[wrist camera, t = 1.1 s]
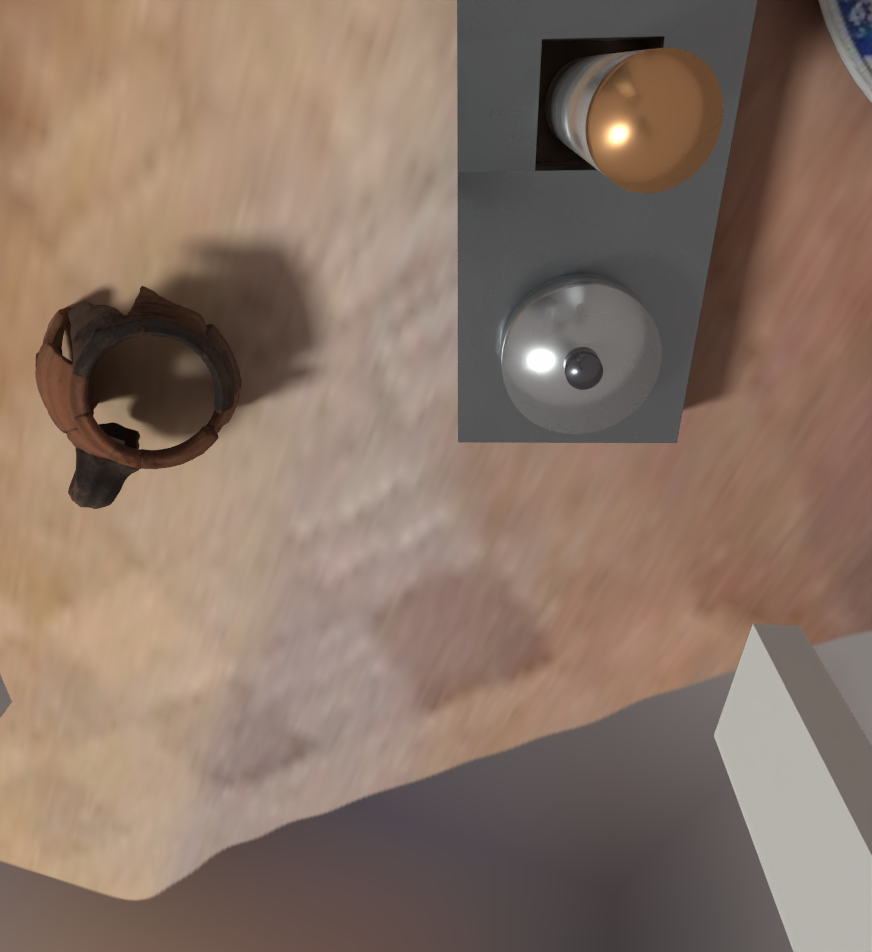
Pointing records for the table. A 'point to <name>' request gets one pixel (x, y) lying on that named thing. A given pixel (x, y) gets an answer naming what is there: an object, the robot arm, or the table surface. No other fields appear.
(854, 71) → the ceramic plate
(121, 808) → the table surface
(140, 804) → the table surface
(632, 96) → the pin
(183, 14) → the table surface
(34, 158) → the table surface
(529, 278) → the block
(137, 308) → the broken brown mug
